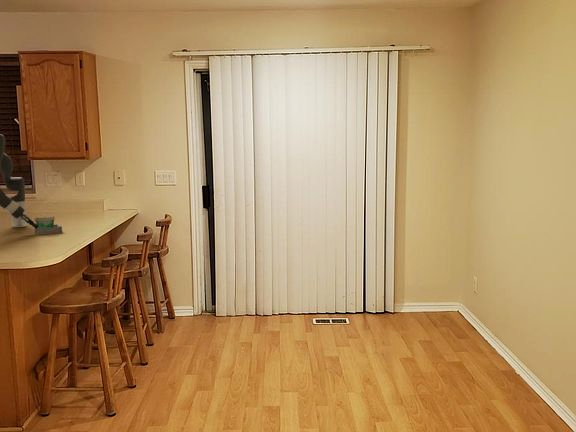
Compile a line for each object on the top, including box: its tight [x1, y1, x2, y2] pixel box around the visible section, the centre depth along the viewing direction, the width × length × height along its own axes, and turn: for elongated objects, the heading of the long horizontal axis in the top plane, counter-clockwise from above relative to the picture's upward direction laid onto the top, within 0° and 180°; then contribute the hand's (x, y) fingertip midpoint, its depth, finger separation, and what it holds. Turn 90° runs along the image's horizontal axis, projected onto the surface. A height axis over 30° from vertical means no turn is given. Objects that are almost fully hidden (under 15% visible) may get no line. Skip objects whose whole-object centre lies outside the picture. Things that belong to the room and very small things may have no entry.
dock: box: [34, 223, 63, 236], centre depth 376 cm, size 12×14×4 cm
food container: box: [33, 216, 56, 228], centre depth 374 cm, size 12×6×10 cm, turn 98°
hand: (37, 227), depth 373 cm, fingers closed
